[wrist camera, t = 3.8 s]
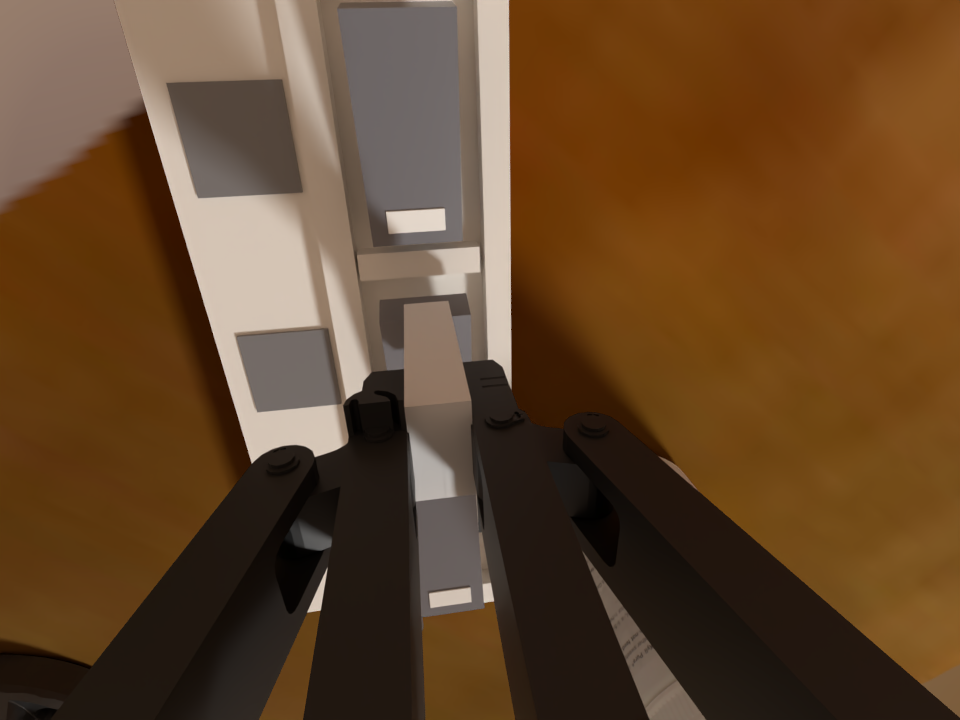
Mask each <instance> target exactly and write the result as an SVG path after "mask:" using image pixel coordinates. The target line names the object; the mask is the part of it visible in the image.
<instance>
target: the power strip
mask: <svg viewBox="0 0 960 720" xmlns="http://www.w3.org/2000/svg"><path fill="white" fill-rule="evenodd" d="M412 1H452V2H453V3H454V4H455V5H456V6H457V28H458V69H459V110H460V151H461V191H462V232H463V241H456V242H441V243H427V244H412V245H397V246H382V247H373V241H372V235H371V228H370V222H369V215H368V209H367V202H366V196H365V189H364V182H363V176H362V169H361V163H360V156H359V150H358V143H357V136H356V130H355V123H354V117H353V110H352V104H351V97H350V91H349V84H348V77H347V71H346V64H345V58H344V51H343V45H342V38H341V32H340V25H339V18H338V12H337V8H338V6H339V4H340V3H350V2H412ZM114 3H115V7H116V10H117V13H118V17H119V20H120V23H121V27H122V30H123V33H124V37H125V40H126V43H127V47H128V50H129V54H130V57H131V60H132V64H133V67H134V70H135V74H136V77H137V80H138V84H139V87H140V90H141V94H142V97H143V101H144V104H145V107H146V111H147V114H148V117H149V121H150V124H151V127H152V131H153V134H154V137H155V141H156V144H157V147H158V151H159V154H160V157H161V161H162V164H163V168H164V171H165V174H166V178H167V181H168V184H169V188H170V191H171V194H172V198H173V201H174V204H175V208H176V211H177V214H178V218H179V221H180V225H181V228H182V231H183V235H184V238H185V241H186V245H187V248H188V251H189V255H190V258H191V261H192V265H193V268H194V271H195V275H196V278H197V281H198V285H199V288H200V292H201V295H202V298H203V302H204V305H205V308H206V312H207V315H208V318H209V322H210V325H211V328H212V332H213V335H214V338H215V342H216V345H217V348H218V352H219V355H220V359H221V362H222V365H223V369H224V372H225V375H226V379H227V382H228V385H229V389H230V392H231V395H232V399H233V402H234V405H235V409H236V412H237V416H238V419H239V422H240V426H241V429H242V432H243V436H244V439H245V442H246V446H247V449H248V452H249V456H250V459H251V462H252V463H253V462H254V461H255V460H256V459H257V458H258V457H260V456H261V455H262V454H264V453H266V452H268V451H270V450H272V449H274V448H277V447H281V446H287V445H300V446H306V447H307V448H309V449H310V450H312V451H313V453H314V456H315V457H317V456H320V455H323V454H326V453H329V452H332V451H334V450H337V449H339V448H341V447H342V446H344V445H346V444H347V443H348V438H349V436H348V431H347V425H346V420H345V414H344V409H343V405H344V403H345V401H346V400H347V399H348V398H349V397H351V396H352V395H353V394H355V393H358V392H360V391H362V387H363V381H364V380H365V379H366V378H367V377H368V376H369V375H370V373H371V372H376V371H387V368H386V361H385V355H384V349H383V343H382V337H381V330H380V324H379V302H380V300H385V299H398V298H410V297H423V296H436V295H449V294H461V293H466V295H467V299H468V304H469V308H470V313H471V351H472V361H482V360H494V361H495V362H497V363H498V364H499V365H501V366H502V367H503V370H504V372H505V375H506V378H507V380H508V383H509V385H510V388H511V249H510V108H509V0H114ZM511 391H512V390H511ZM476 504H477V491H476ZM477 517H478V509H477ZM478 530H479V529H478ZM479 544H480V557H481V570H482V584H483V597H484V603H485V602H492V601H494V598H493V592H492V587H491V581H490V575H489V570H488V564H487V559H486V553H485V548H484V542H483V537H482V532H480V533H479ZM327 568H328V567H327ZM326 575H327V570H326V572H325V574H324V576H323V578H322V581H321V583H320V585H319V587H318V590H317V592H316V594H315V596H314V598H313V601H312V603H311V605H310V607H309V609H308V612H313V611H320V610H321V606H322V599H323V593H324V587H325V581H326ZM421 621H422V630H423V618H422V617H421Z"/></svg>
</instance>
